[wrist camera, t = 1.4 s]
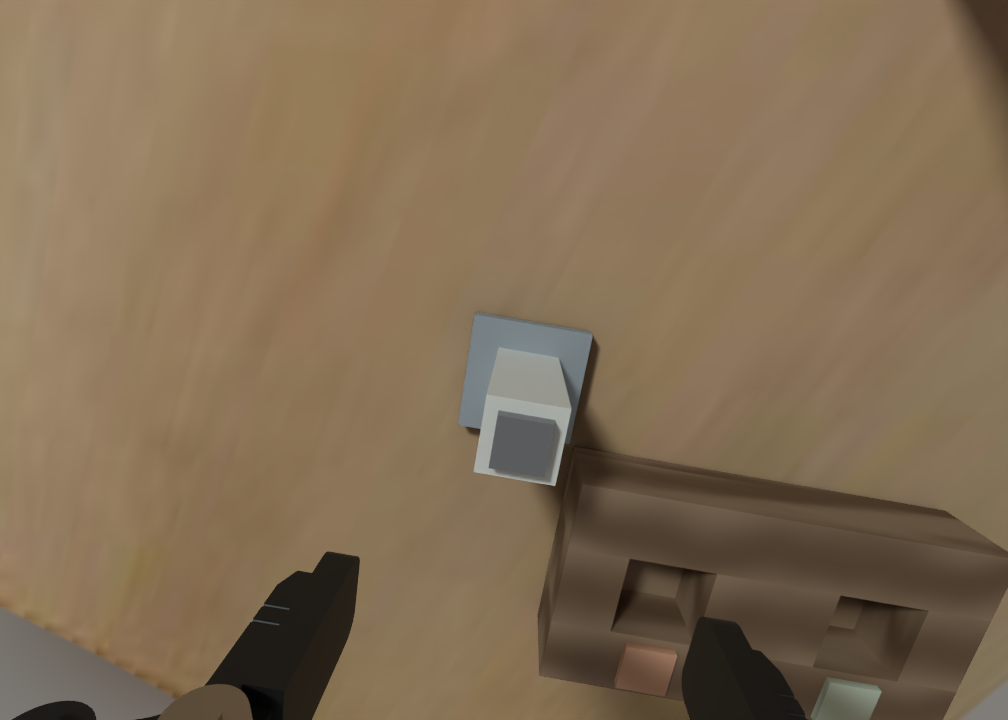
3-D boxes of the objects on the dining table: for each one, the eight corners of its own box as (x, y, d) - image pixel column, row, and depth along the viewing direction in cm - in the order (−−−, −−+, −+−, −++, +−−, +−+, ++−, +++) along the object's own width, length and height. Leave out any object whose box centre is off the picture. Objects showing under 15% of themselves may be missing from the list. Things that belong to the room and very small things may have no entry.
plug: (498, 347, 30) (485, 398, 20) (558, 357, 29) (572, 414, 20) (489, 404, 30) (472, 478, 21) (547, 414, 30) (556, 493, 21)
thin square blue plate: (476, 311, 30) (474, 314, 29) (590, 331, 30) (593, 334, 29) (460, 419, 32) (457, 424, 31) (568, 437, 32) (569, 444, 31)
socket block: (574, 446, 32) (583, 488, 27) (945, 511, 32) (1027, 565, 27) (537, 614, 35) (539, 681, 30) (874, 673, 35) (935, 751, 30)
